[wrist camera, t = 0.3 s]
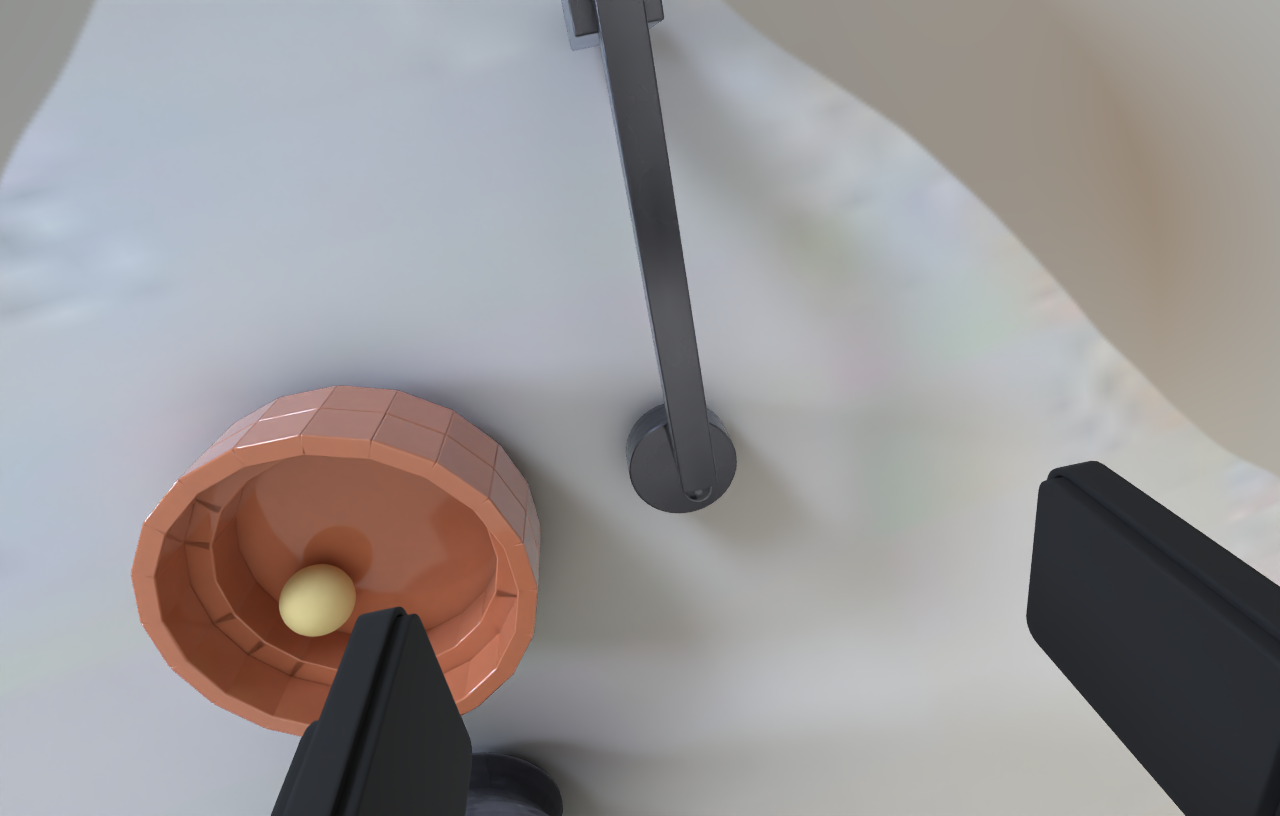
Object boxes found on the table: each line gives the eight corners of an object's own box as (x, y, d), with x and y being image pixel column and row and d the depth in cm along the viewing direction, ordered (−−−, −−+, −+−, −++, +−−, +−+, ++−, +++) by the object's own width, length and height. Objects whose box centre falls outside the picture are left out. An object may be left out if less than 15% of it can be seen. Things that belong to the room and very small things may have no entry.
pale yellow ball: (282, 558, 30) (255, 603, 27) (349, 543, 30) (329, 588, 28) (308, 609, 31) (285, 658, 29) (373, 596, 32) (355, 643, 29)
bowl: (134, 421, 28) (50, 486, 23) (491, 348, 28) (478, 397, 23) (279, 682, 34) (236, 773, 29) (570, 619, 34) (572, 700, 30)
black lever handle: (523, -20, 23) (507, -69, 16) (659, -47, 23) (702, -107, 16) (635, 501, 32) (657, 614, 25) (733, 480, 32) (781, 587, 25)
